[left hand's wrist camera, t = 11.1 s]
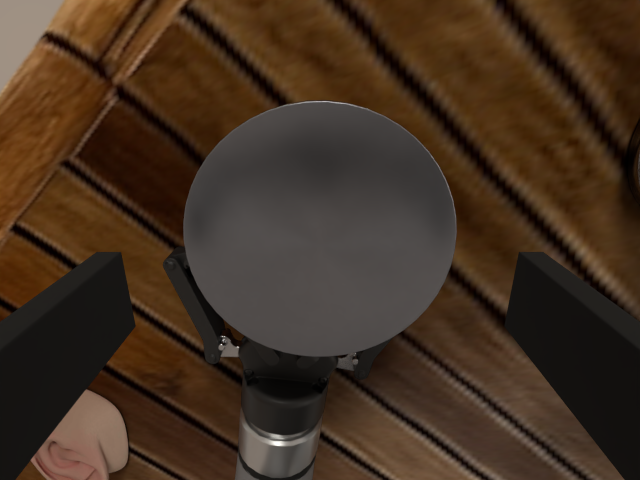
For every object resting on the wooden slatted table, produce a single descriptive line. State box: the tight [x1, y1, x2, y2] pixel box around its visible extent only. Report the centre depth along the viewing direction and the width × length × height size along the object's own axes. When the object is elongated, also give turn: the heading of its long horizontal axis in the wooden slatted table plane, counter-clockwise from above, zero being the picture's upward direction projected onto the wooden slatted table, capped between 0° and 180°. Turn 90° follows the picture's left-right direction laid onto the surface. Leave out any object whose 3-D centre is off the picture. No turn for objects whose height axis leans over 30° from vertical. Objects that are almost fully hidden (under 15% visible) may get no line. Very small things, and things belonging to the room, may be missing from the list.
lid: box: [184, 100, 456, 357], centre depth 17 cm, size 11×11×2 cm
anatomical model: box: [31, 389, 128, 480], centre depth 43 cm, size 13×4×12 cm
